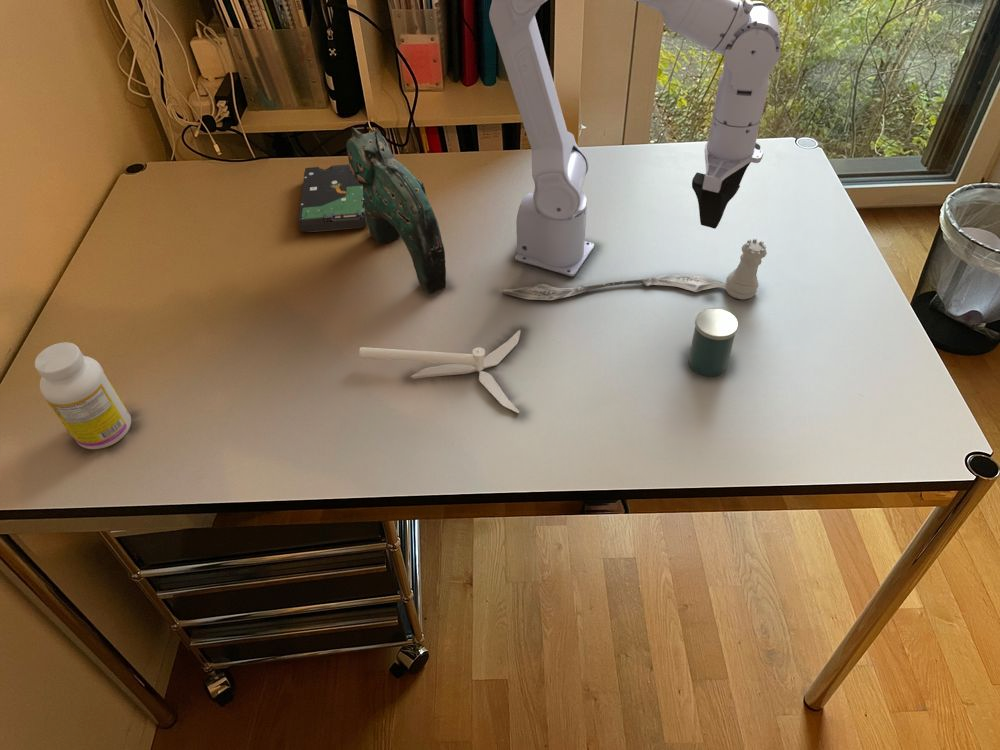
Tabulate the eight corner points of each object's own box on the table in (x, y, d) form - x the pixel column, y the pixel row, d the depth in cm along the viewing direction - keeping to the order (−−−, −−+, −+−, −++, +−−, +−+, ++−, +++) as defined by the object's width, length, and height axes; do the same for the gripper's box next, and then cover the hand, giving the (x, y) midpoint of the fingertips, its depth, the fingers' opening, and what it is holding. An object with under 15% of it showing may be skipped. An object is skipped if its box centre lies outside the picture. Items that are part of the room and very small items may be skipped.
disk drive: (307, 182, 130) (301, 234, 120) (303, 167, 128) (297, 219, 118) (369, 176, 131) (368, 228, 121) (366, 161, 129) (365, 212, 119)
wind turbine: (344, 381, 93) (518, 393, 91) (373, 304, 103) (530, 312, 101) (349, 403, 96) (519, 415, 94) (377, 325, 106) (530, 334, 104)
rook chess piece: (757, 283, 108) (775, 238, 102) (754, 304, 106) (771, 259, 100) (725, 275, 109) (741, 230, 103) (721, 296, 106) (736, 251, 100)
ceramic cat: (359, 233, 120) (334, 112, 105) (396, 218, 122) (376, 98, 108) (421, 303, 108) (403, 178, 94) (461, 285, 111) (449, 161, 96)
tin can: (682, 369, 98) (690, 328, 93) (694, 344, 101) (703, 303, 96) (721, 381, 96) (731, 341, 91) (732, 355, 99) (743, 315, 94)
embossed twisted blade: (731, 290, 108) (721, 267, 111) (732, 287, 107) (721, 264, 110) (501, 312, 106) (497, 289, 110) (500, 309, 106) (497, 285, 109)
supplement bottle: (84, 411, 97) (35, 337, 87) (138, 407, 97) (95, 332, 88) (69, 454, 92) (15, 381, 83) (125, 449, 92) (78, 375, 83)
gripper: (753, 152, 88) (731, 248, 98) (785, 95, 97) (762, 188, 107) (693, 138, 91) (677, 233, 100) (729, 84, 99) (711, 176, 109)
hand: (717, 209), depth 104 cm, fingers open, 7 cm apart
